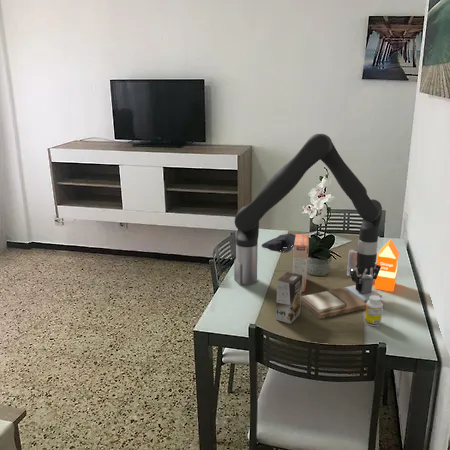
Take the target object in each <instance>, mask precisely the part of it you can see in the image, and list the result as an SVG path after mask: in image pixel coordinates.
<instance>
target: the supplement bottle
mask: <svg viewBox="0 0 450 450" xmlns="http://www.w3.org/2000/svg"><path fill="white" fill-rule="evenodd" d="M366 302H367V304H366V308H365V319H364V322H365V324H367V325H369V326H372V327H378V326H379V325H381V323H382V317H383V316H382V315H383V307H384V306H383V305H384V304H383V302H382V298H380V297H379V296H375V295H372V296H370V297H369V300H368V301H366Z"/></svg>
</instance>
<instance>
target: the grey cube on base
mask: <svg viewBox="0 0 450 450" xmlns="http://www.w3.org/2000/svg"><path fill="white" fill-rule="evenodd" d="M360 275H361V274H360ZM361 276H362V275H361ZM359 279H360V278H359ZM373 281H374V280H373V279H372V278H369V277H368V276H366V275H365V277H364V279H363V280H362V283H361V284H362V288H361V292H358V291H357V290H356V284H354V285H349V286H345V287H344V288H345V290H347V291H348V292H350V293H351V294H353V295H354V296H356V297H357V298H359V299H360V300H362V301H363V302H367V301H368V300H369V297H370V296H372V295H375V296H379V297H380V298H381V299H382V298H383V295H382V294H380V293H379V292H377V291H375V290H374V289H373V283H374V282H373Z"/></svg>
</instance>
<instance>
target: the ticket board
mask: <svg viewBox="0 0 450 450" xmlns="http://www.w3.org/2000/svg"><path fill="white" fill-rule="evenodd" d="M301 303H302V304H301V305H302V306H304V305H305V306H306V307H307V308H306V307H305V306H304V307H305V308H306V309H308V311H310V310H311V311H312V312H313V313H312V312H311V311H310V312H311V313H312V314H313V315H315V316H316V315H317V316H318V317H319V318H318V317H317V316H316V317H317V318H318V319H320V318H322V319H324V318H323V317H326V318H328V317H327V316H330V317H332V316H331V315H334V316H337V315H336V314H339V315H342V314H341V313H343V314H347V313H351V312H350V311H352V312H356V311H360V310H363V309H364V310H366V304H367V301H365V302H363V301H362V300H360V299H359V298H357V297H356V296H354V295H353V294H351V293H350V292H348V291H347V290H345V287H344V286H342V287H339V288H332V289H329V290H328V289H327V290H324V291H319V292H315V293H309V294H304V295H301ZM355 310H356V311H355ZM346 312H347V313H346Z"/></svg>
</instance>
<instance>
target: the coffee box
mask: <svg viewBox="0 0 450 450" xmlns="http://www.w3.org/2000/svg"><path fill="white" fill-rule="evenodd" d="M301 290H302V275H299V274H294V273H293V272H289V271H286V272H285V273H284V274H283V275H282V276H281V277H279V278H278V279H277V281H276V301H275V302H276V305H275V320H277V321H278V322H279V321H280V322H283V323H285V324H289V323H290V324H292V323H293V322H294V321H295V320H296V319H297V318H298V317H299V316H300V315H301V311H302V310H301V307H302V304H301V296H302V292H301ZM299 314H300V315H299ZM290 324H289V325H290Z"/></svg>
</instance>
